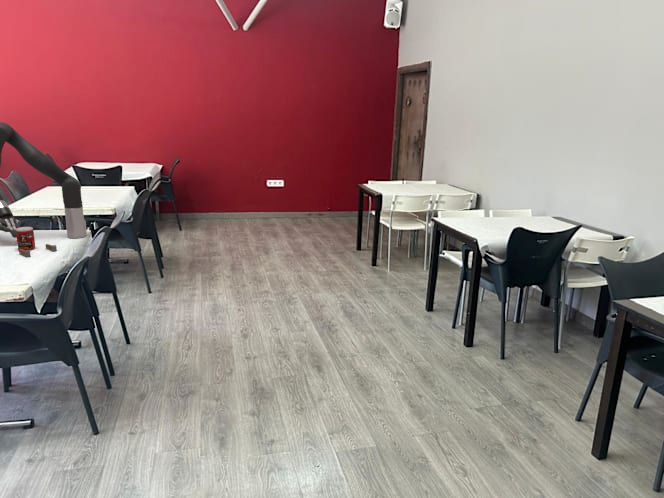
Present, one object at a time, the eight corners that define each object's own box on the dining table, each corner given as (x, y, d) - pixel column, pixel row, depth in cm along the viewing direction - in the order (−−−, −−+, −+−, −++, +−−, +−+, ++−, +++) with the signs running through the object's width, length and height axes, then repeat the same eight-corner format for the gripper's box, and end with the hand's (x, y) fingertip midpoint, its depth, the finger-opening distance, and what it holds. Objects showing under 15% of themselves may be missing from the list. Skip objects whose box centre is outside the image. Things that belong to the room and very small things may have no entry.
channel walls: (48, 248, 262) (47, 243, 261) (54, 250, 259) (54, 246, 258) (19, 254, 250) (18, 249, 250) (25, 256, 247) (25, 251, 247)
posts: (55, 250, 259) (54, 244, 258) (56, 251, 258) (56, 245, 258) (25, 256, 247) (24, 251, 246) (26, 257, 246) (26, 251, 245)
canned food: (16, 251, 255) (13, 230, 252) (21, 247, 262) (18, 226, 259) (33, 250, 257) (30, 230, 254) (37, 246, 264) (34, 226, 261)
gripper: (-11, 208, 259) (4, 235, 256) (16, 204, 269) (31, 230, 266) (-14, 216, 263) (1, 243, 260) (12, 213, 273) (27, 238, 271)
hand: (16, 236), depth 263 cm, fingers closed
